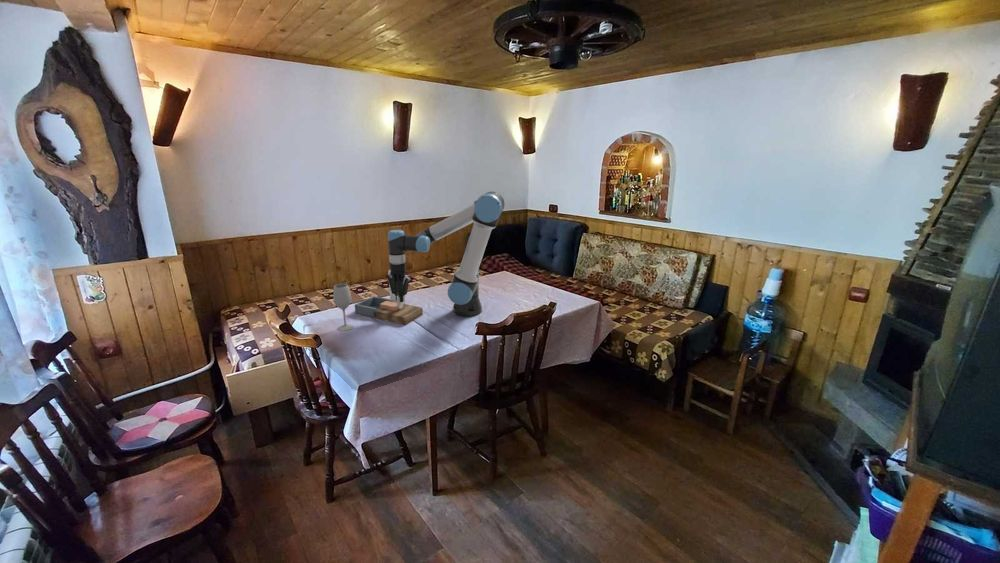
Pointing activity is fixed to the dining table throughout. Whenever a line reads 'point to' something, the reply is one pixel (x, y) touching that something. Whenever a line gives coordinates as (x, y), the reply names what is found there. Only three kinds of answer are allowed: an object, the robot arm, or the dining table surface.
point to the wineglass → (342, 302)
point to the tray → (370, 306)
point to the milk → (392, 296)
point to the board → (400, 314)
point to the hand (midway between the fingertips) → (400, 307)
